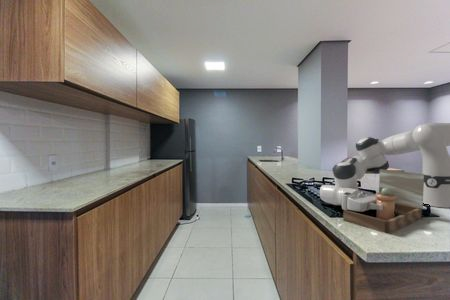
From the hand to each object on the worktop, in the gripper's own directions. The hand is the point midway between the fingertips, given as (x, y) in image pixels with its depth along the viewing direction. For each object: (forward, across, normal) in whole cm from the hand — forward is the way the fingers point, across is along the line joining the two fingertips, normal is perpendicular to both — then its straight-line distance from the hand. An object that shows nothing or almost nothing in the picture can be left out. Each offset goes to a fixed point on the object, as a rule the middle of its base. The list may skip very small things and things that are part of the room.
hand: (388, 206), depth 99 cm
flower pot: (-1, 0, -6) cm, 6 cm away
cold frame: (-1, 0, -6) cm, 6 cm away
